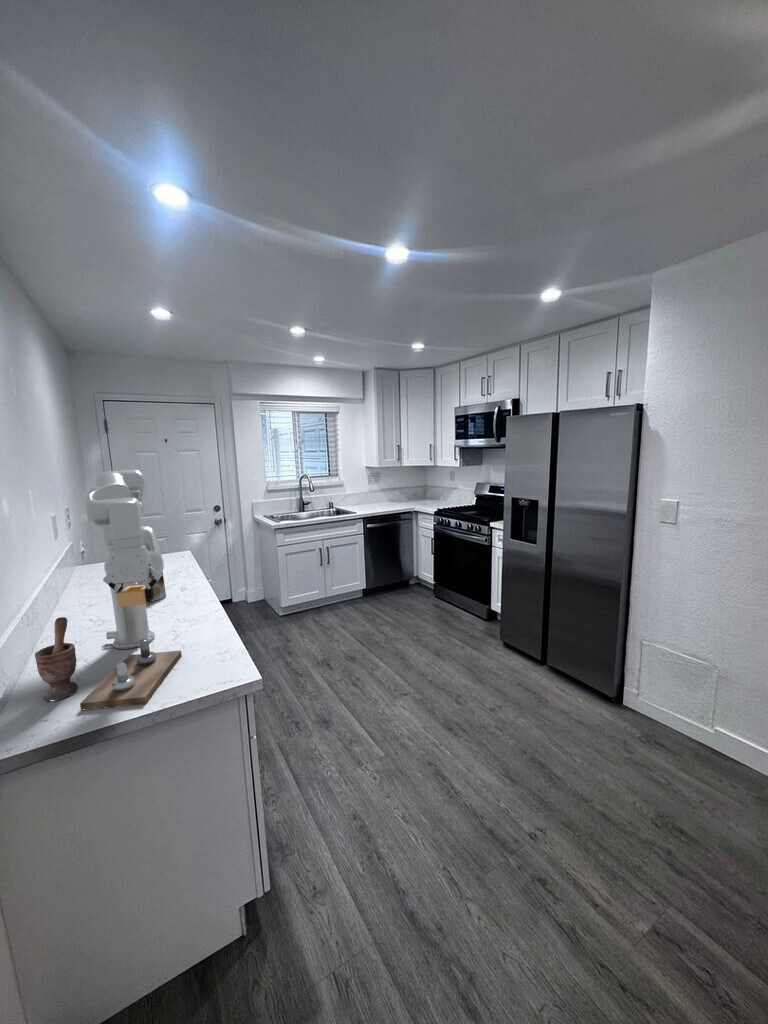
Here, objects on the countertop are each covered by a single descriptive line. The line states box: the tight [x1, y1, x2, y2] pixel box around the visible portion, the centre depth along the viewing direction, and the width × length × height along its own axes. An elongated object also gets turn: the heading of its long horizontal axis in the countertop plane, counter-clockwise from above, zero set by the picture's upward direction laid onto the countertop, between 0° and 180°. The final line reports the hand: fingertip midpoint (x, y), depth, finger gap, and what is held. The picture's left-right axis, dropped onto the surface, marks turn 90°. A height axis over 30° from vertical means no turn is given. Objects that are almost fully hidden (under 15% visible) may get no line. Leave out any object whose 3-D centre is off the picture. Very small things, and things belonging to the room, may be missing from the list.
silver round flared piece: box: [112, 661, 135, 693], centre depth 115 cm, size 5×5×7 cm
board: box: [79, 650, 183, 711], centre depth 123 cm, size 16×26×2 cm, turn 6°
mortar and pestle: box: [34, 616, 79, 701], centre depth 117 cm, size 12×9×20 cm
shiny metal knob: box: [136, 639, 156, 666], centre depth 129 cm, size 5×5×7 cm
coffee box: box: [136, 570, 167, 604], centre depth 191 cm, size 9×6×16 cm
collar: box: [117, 585, 146, 607], centre depth 125 cm, size 7×7×4 cm
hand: (136, 601), depth 125 cm, fingers closed on collar, 6 cm apart
